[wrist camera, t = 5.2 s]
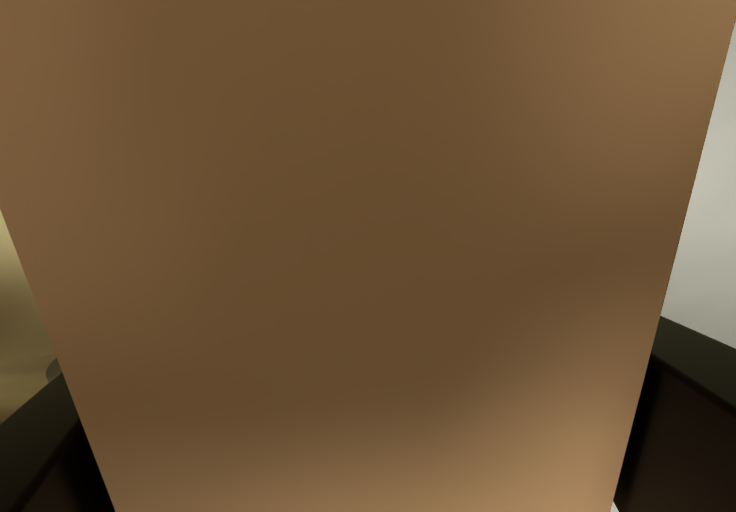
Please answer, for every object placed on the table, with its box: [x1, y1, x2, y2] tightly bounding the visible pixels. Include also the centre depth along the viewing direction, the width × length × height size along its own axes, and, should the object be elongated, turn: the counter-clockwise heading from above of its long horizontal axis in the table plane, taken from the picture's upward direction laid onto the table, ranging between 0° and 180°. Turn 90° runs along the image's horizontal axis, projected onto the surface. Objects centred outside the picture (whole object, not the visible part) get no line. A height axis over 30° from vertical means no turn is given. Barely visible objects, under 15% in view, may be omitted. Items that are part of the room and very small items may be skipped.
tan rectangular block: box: [0, 0, 736, 512], centre depth 9 cm, size 14×6×4 cm, turn 2°
